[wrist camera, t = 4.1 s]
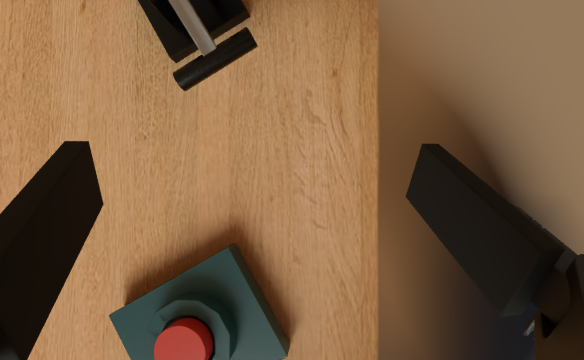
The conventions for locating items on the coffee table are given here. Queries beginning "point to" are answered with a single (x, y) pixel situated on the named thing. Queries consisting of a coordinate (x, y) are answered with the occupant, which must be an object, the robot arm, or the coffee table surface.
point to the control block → (207, 312)
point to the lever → (207, 47)
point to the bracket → (172, 33)
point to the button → (184, 341)
